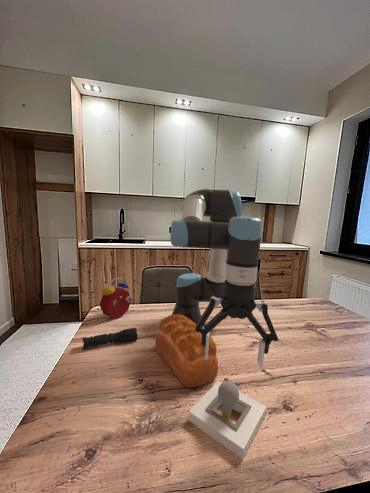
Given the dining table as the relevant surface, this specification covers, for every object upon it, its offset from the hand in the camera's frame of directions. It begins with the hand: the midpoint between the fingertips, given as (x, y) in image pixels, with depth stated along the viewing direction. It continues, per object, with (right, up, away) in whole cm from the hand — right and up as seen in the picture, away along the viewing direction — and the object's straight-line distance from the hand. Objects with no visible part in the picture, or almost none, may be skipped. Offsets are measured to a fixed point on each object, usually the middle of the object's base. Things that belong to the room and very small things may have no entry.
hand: (232, 360), depth 60 cm
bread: (-13, -13, +25) cm, 31 cm away
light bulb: (-1, -16, +2) cm, 17 cm away
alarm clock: (-46, -6, +57) cm, 74 cm away
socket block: (-1, -16, +2) cm, 17 cm away
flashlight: (-42, -10, +34) cm, 55 cm away
